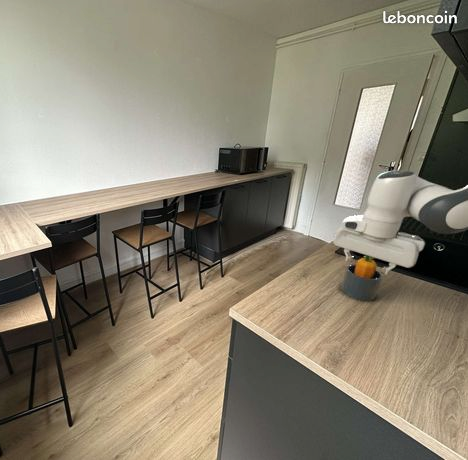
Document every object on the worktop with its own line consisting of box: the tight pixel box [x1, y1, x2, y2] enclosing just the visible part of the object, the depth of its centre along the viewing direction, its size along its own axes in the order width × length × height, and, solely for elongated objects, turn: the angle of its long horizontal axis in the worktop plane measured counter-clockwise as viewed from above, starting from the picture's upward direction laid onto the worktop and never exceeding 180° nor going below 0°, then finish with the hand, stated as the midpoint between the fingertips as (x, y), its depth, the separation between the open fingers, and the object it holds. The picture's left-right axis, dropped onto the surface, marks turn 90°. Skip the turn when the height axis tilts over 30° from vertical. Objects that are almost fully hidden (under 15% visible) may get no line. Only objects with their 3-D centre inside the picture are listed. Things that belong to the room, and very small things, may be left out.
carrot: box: [354, 254, 378, 279], centre depth 80 cm, size 5×5×15 cm
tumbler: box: [340, 263, 383, 302], centre depth 82 cm, size 9×9×8 cm
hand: (365, 267), depth 79 cm, fingers open, 8 cm apart
